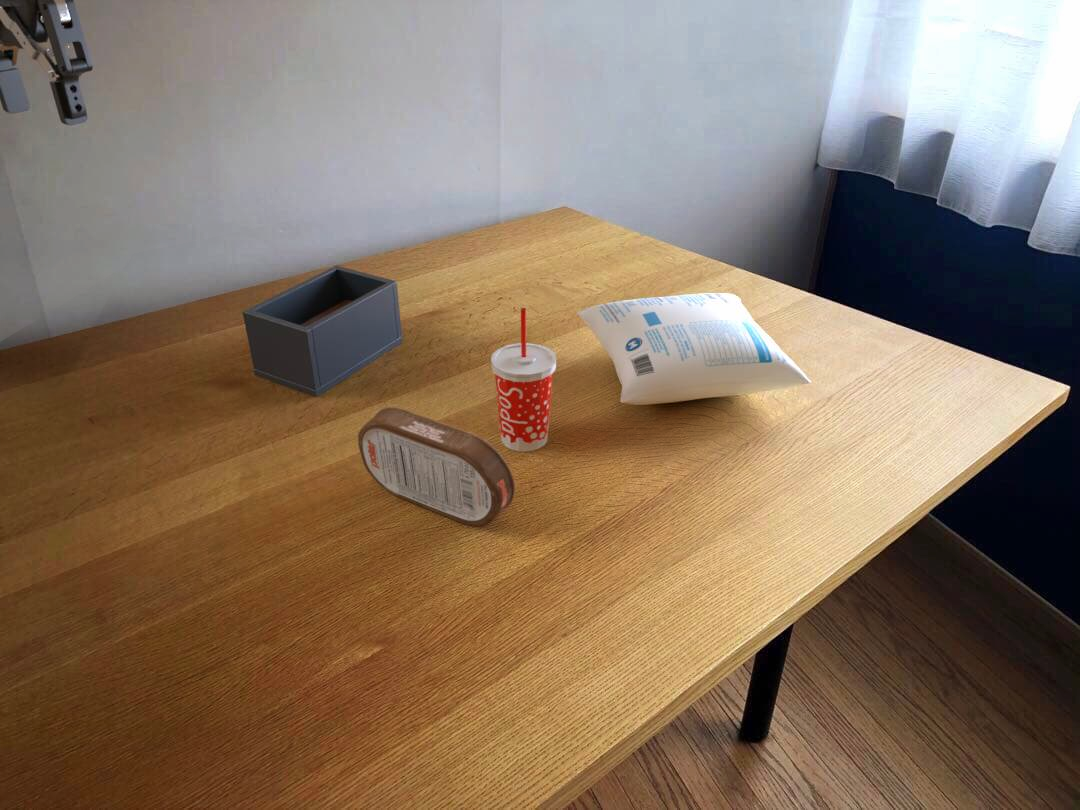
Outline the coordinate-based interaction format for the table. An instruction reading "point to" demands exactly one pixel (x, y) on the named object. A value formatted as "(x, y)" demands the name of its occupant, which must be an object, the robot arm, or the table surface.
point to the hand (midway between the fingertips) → (46, 117)
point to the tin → (436, 466)
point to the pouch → (689, 348)
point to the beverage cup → (523, 392)
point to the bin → (323, 329)
